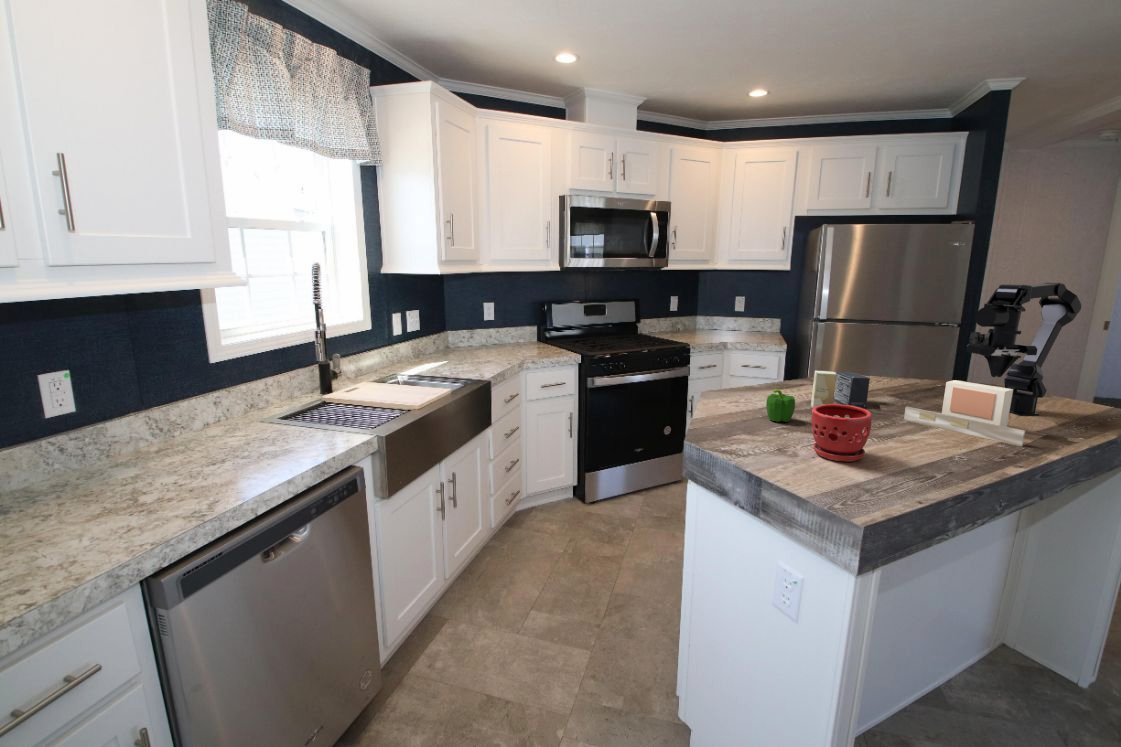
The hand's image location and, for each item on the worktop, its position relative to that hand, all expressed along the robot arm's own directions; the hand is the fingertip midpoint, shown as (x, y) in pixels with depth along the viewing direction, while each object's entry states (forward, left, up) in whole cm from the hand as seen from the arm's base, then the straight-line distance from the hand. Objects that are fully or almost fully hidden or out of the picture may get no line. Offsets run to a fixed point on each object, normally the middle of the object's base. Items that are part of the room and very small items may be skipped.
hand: (996, 376), depth 162 cm
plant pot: (+66, +31, -13) cm, 74 cm away
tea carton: (+17, +14, -12) cm, 25 cm away
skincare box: (+46, -14, -13) cm, 50 cm away
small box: (+34, -18, -13) cm, 41 cm away
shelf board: (+17, +14, -13) cm, 25 cm away
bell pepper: (+67, 0, -13) cm, 68 cm away
